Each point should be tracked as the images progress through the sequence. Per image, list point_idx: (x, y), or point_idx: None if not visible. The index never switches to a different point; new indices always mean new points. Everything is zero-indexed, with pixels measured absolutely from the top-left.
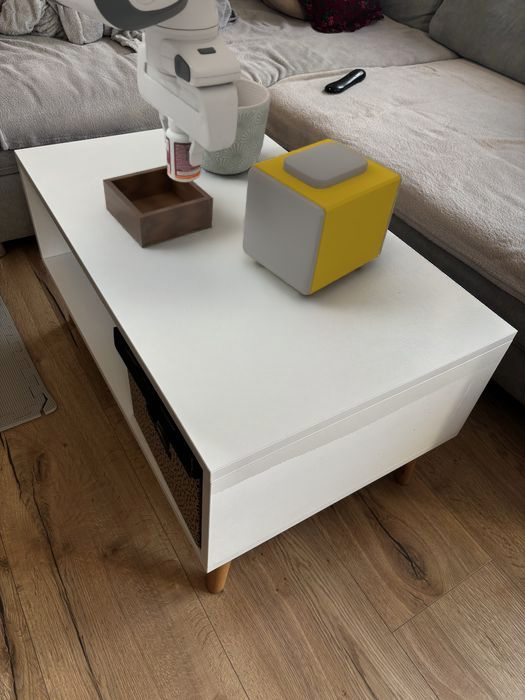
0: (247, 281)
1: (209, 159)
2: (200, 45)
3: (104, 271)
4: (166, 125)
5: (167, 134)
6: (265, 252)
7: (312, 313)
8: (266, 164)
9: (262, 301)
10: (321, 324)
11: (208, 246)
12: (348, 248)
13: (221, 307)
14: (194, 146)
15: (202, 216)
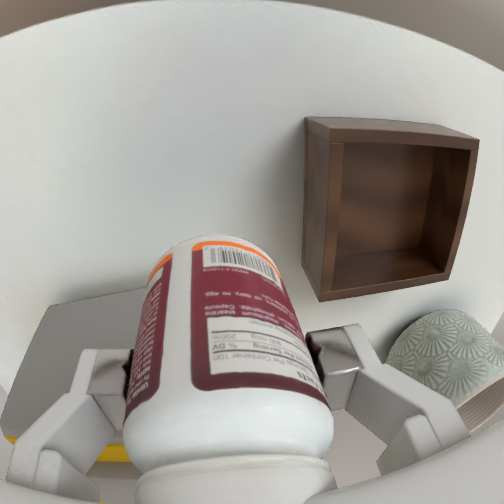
0: (125, 250)
1: (425, 331)
2: None
3: (265, 20)
4: (387, 400)
5: (238, 404)
6: (116, 309)
7: (41, 296)
8: None
9: (73, 248)
10: (22, 294)
11: (249, 234)
12: None
13: (74, 181)
14: (21, 437)
15: (310, 261)
